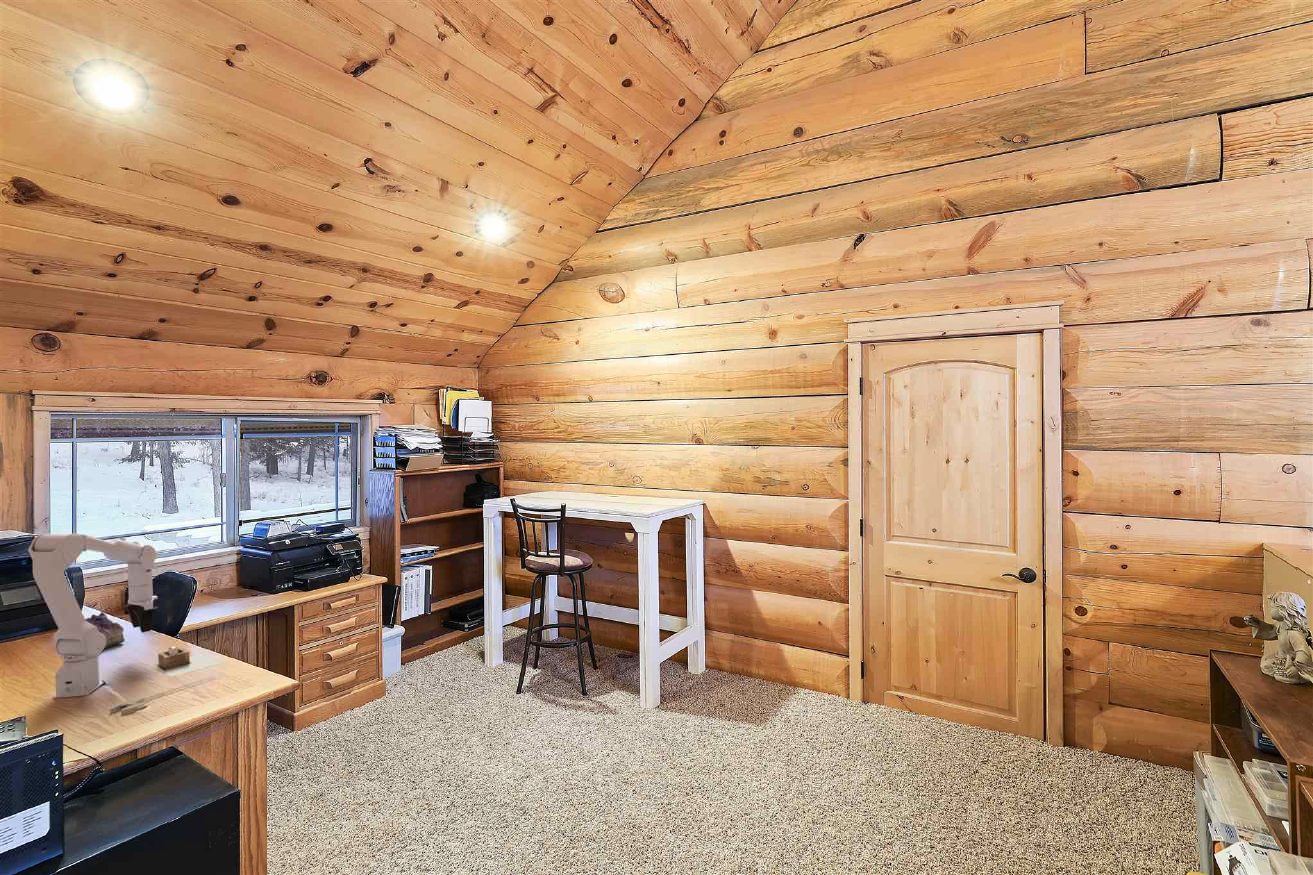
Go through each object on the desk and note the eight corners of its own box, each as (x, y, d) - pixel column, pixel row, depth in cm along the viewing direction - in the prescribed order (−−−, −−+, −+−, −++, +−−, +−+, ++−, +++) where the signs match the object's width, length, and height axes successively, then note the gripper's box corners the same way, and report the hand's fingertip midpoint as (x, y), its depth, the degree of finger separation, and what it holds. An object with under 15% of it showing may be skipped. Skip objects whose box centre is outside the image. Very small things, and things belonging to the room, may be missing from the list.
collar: (189, 662, 194) (189, 651, 194) (165, 669, 190) (165, 657, 189) (182, 658, 198) (182, 647, 198) (158, 664, 193) (158, 653, 193)
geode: (64, 643, 216) (68, 613, 217) (108, 639, 225) (112, 609, 226) (80, 654, 203) (84, 621, 204) (126, 649, 212) (130, 617, 213)
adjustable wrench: (219, 680, 186) (218, 673, 186) (229, 685, 182) (229, 678, 182) (108, 712, 165) (108, 705, 165) (117, 718, 161) (117, 711, 161)
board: (219, 667, 194) (219, 664, 194) (170, 680, 184) (170, 677, 184) (201, 657, 202) (201, 654, 202) (154, 669, 192) (153, 665, 192)
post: (191, 663, 194) (191, 646, 194) (163, 670, 189) (163, 653, 189) (183, 658, 199) (182, 641, 198) (155, 665, 193) (154, 648, 193)
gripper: (164, 585, 195) (166, 630, 196) (148, 578, 204) (150, 621, 205) (135, 590, 190) (137, 636, 190) (120, 583, 199) (121, 627, 199)
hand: (141, 629), depth 197 cm, fingers open, 7 cm apart
